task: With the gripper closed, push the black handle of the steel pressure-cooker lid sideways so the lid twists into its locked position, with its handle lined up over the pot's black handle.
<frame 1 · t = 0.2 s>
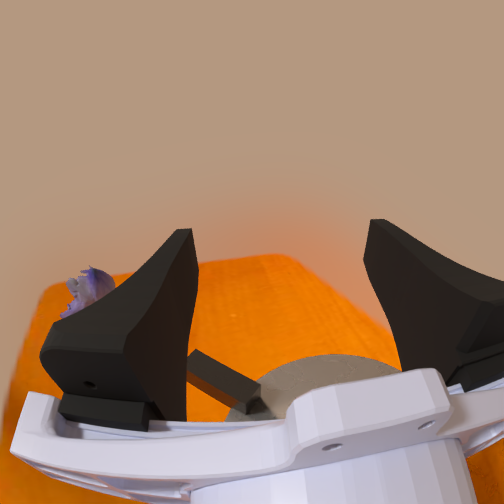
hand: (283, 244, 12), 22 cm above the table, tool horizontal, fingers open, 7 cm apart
flower: (107, 321, 38), on the table
cooker lid: (316, 433, 19), point 8 cm above the table, hinge at -35.0°
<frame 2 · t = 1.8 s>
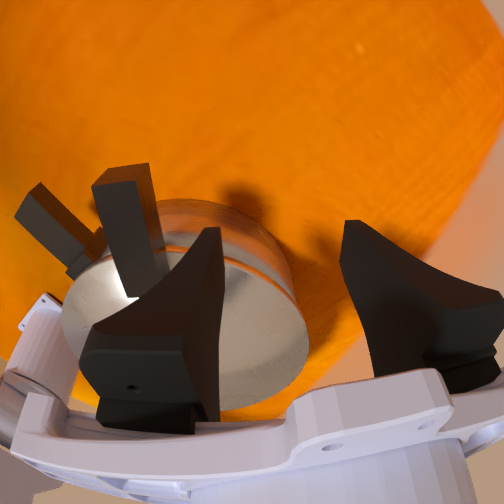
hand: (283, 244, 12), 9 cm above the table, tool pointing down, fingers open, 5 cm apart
cooker pot: (190, 290, 26), on the table
cooker lid: (171, 342, 19), point 8 cm above the table, hinge at -35.0°
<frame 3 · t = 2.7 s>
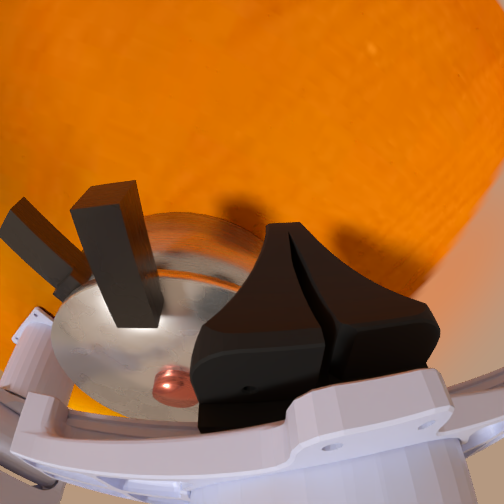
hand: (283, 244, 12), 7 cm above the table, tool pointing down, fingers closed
cooker pot: (187, 307, 25), on the table
cooker lid: (167, 368, 17), point 7 cm above the table, hinge at -35.0°
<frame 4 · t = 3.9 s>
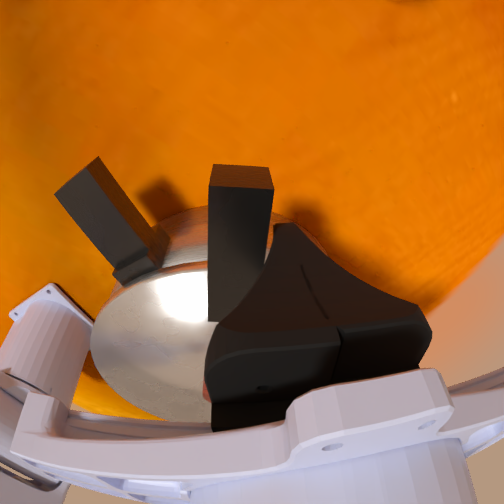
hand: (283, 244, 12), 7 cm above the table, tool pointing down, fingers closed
cooker pot: (228, 303, 24), on the table
cooker lid: (228, 365, 17), point 8 cm above the table, hinge at -32.4°, touching gripper
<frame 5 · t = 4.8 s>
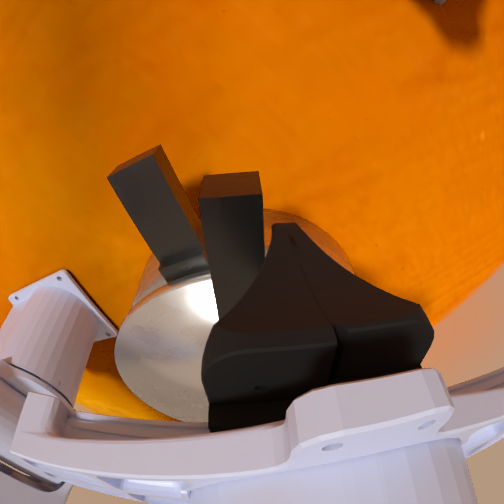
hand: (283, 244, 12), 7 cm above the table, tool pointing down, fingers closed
cooker pot: (248, 305, 25), on the table
cooker lid: (250, 367, 17), point 7 cm above the table, hinge at -17.4°, touching gripper
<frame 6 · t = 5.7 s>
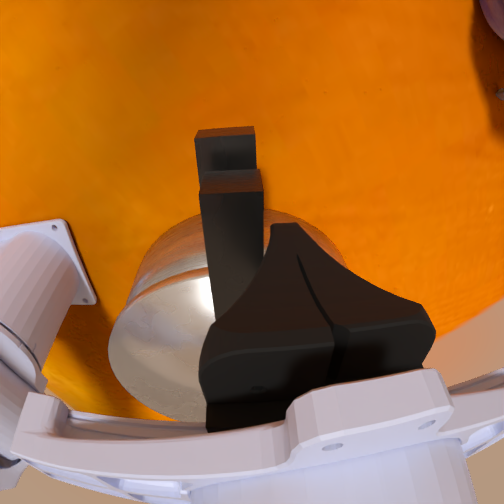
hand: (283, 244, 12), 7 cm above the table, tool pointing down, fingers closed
flower: (502, 40, 12), on the table
cooker pot: (243, 304, 25), on the table
cooker lid: (244, 366, 17), point 7 cm above the table, hinge at -1.0°, touching gripper
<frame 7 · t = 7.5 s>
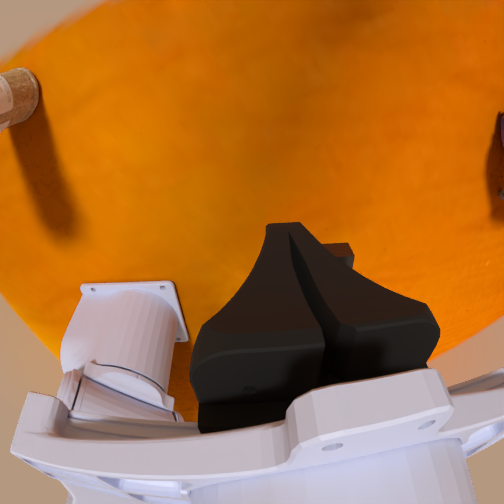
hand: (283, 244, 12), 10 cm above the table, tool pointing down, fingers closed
cooker pot: (305, 337, 32), on the table
sprinkles bottle: (20, 94, 16), on the table
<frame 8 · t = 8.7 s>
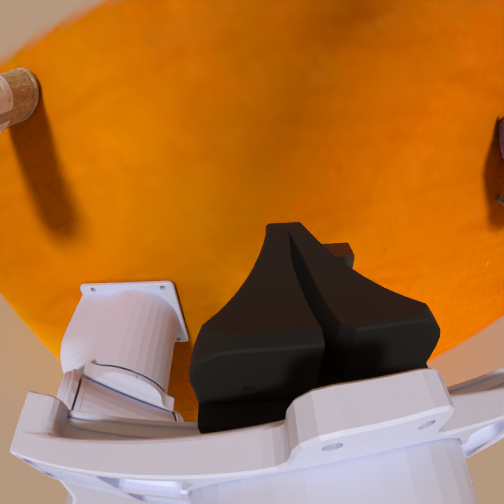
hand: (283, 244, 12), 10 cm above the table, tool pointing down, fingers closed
cooker pot: (305, 337, 32), on the table
sprinkles bottle: (20, 94, 16), on the table
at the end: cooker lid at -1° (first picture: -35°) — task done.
